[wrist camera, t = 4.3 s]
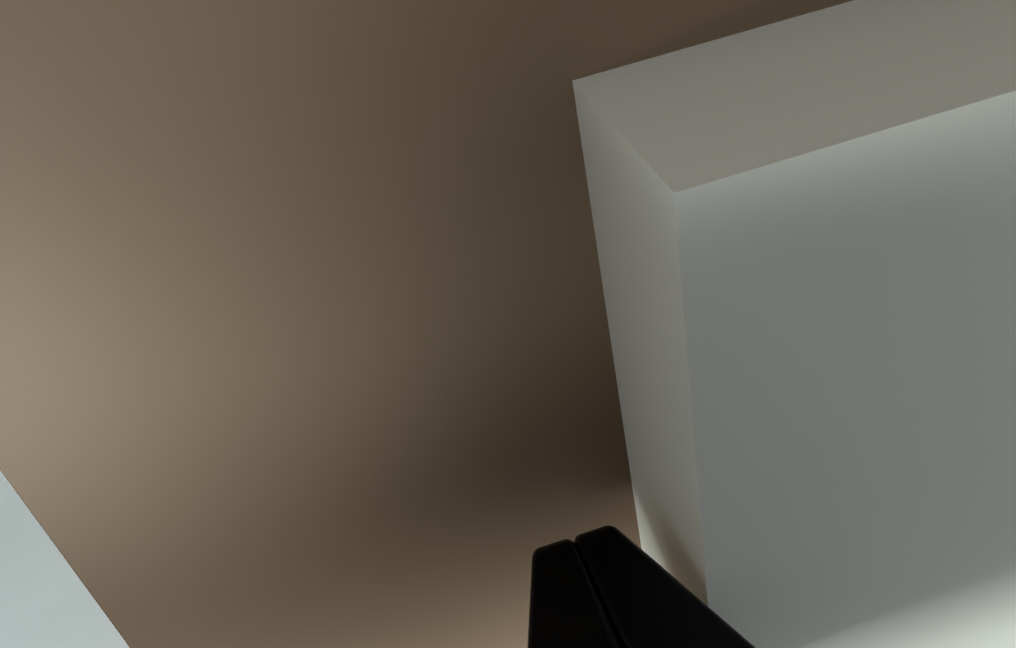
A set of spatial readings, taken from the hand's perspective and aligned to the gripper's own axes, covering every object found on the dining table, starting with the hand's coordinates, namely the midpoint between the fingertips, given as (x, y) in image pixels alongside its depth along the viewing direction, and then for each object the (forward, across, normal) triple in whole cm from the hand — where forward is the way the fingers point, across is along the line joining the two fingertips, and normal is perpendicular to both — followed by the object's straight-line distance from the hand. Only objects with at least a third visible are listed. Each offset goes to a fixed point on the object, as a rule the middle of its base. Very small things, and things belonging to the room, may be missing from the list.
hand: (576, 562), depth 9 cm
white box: (+1, -4, 0) cm, 4 cm away
